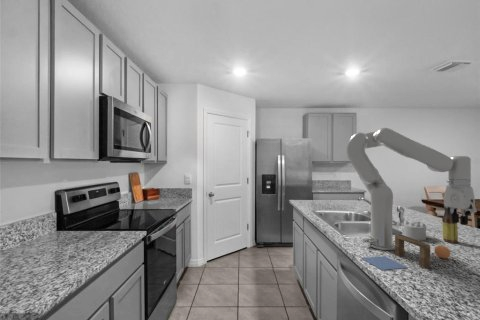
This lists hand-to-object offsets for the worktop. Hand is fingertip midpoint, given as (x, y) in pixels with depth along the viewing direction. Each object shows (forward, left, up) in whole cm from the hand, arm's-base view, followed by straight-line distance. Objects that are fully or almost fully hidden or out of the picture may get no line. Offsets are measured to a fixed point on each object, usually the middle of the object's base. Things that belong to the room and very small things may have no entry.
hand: (459, 223), depth 110 cm
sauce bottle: (+17, +18, -15) cm, 29 cm away
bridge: (-26, 0, -15) cm, 30 cm away
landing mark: (-40, 0, -15) cm, 42 cm away
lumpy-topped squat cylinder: (+5, +28, -16) cm, 32 cm away
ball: (-10, 0, -13) cm, 16 cm away
